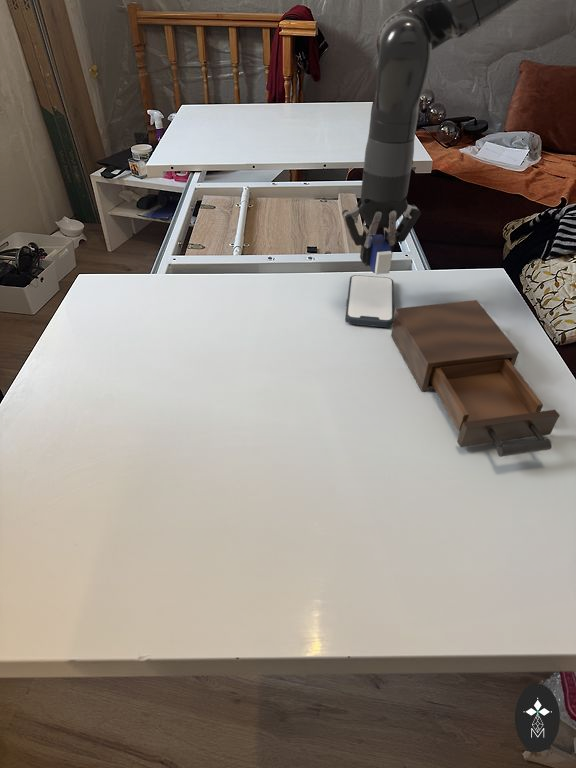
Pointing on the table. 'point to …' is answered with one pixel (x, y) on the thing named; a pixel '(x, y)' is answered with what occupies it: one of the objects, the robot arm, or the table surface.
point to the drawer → (493, 406)
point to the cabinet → (447, 337)
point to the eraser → (380, 255)
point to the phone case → (370, 301)
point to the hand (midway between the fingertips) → (375, 262)
